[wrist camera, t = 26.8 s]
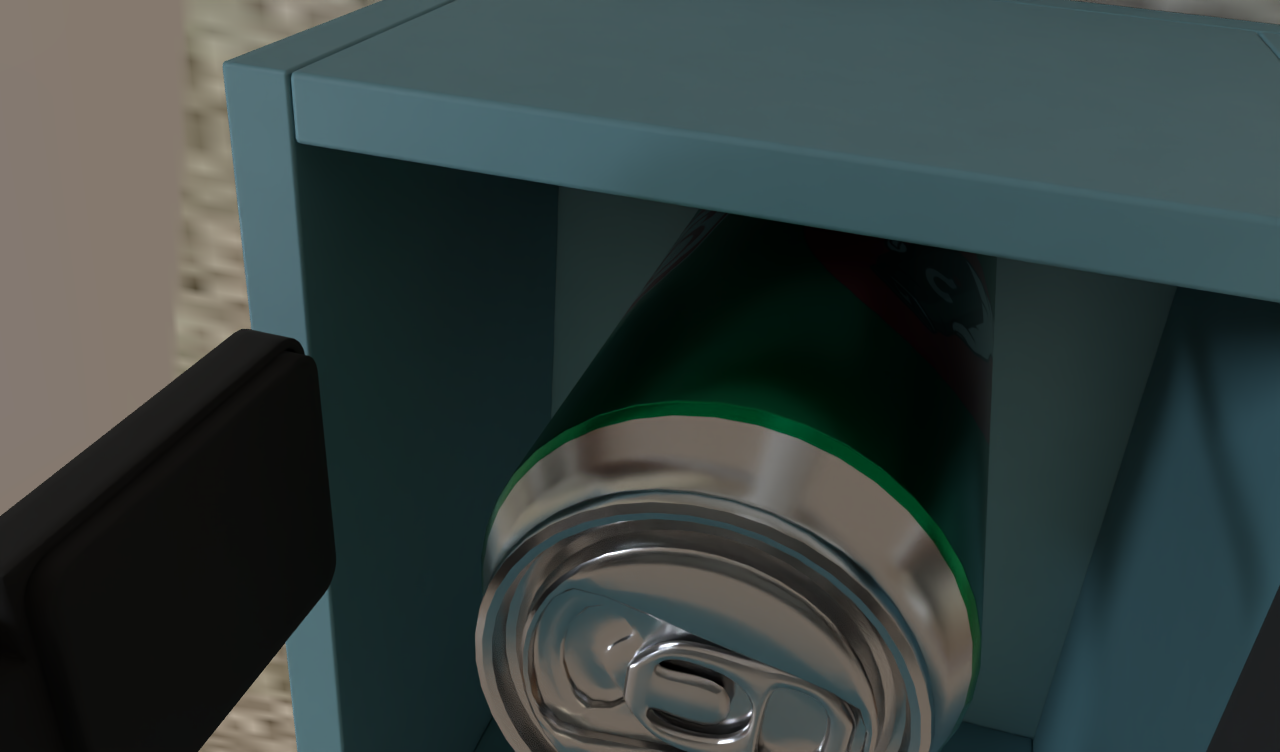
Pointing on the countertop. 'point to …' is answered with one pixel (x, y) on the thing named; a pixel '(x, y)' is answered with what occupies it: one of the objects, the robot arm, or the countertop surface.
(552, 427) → the soda can
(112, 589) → the robot arm
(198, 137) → the countertop surface
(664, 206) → the teal box
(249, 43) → the countertop surface
